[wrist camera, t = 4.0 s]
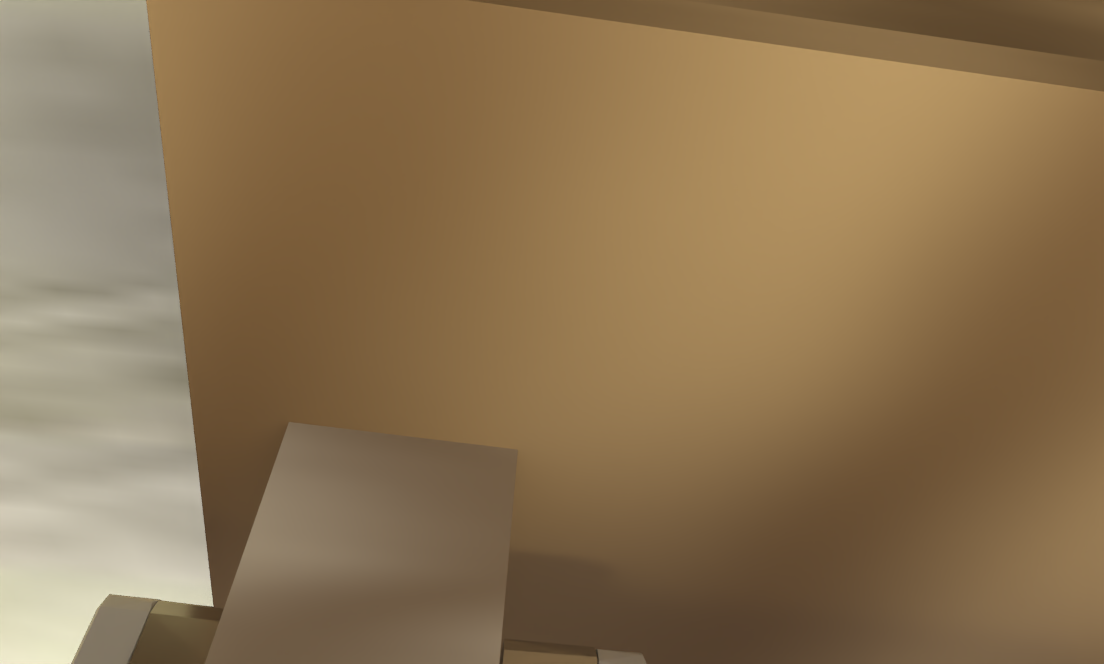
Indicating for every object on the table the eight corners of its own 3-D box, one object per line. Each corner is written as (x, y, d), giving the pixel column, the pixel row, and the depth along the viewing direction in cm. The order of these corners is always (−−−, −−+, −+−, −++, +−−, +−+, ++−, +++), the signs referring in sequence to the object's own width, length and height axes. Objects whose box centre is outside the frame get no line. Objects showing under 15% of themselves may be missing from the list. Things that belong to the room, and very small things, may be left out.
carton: (1228, -119, 17) (1765, 174, 9) (944, 439, 25) (1103, 854, 17) (391, -249, 16) (201, -50, 9) (371, 369, 24) (262, 768, 16)
